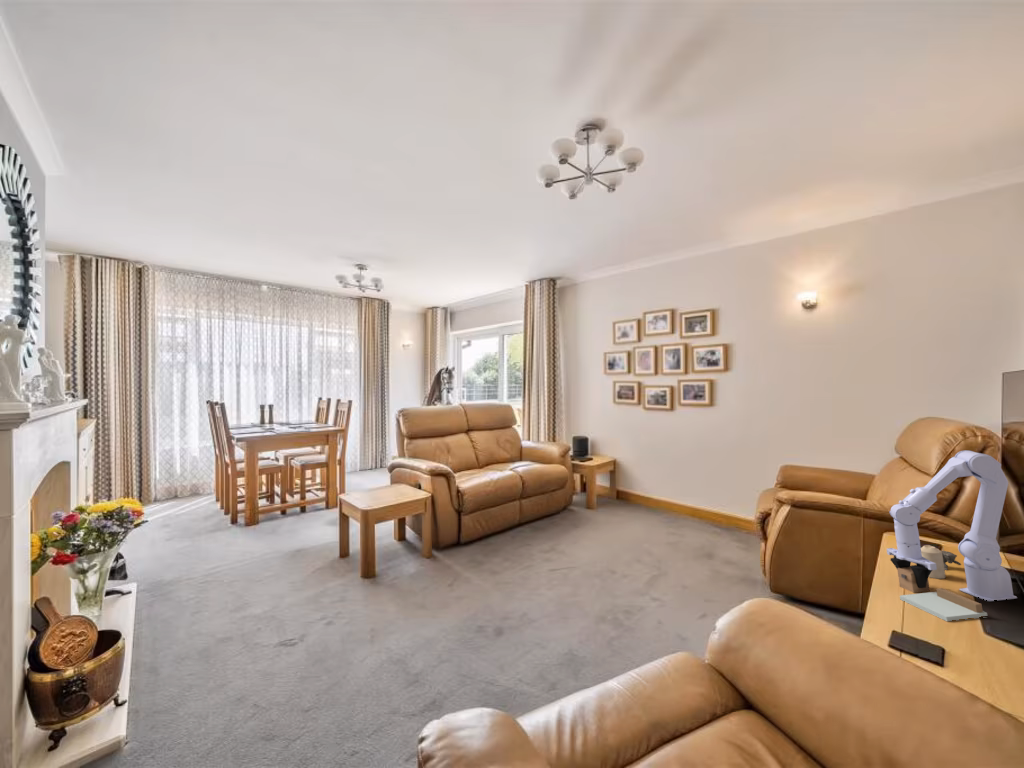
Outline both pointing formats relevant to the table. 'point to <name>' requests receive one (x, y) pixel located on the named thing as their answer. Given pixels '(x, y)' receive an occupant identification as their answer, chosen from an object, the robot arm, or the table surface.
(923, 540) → the table surface
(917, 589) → the cabinet block
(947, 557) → the dog figurine
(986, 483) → the robot arm
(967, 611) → the wall board
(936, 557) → the candle
